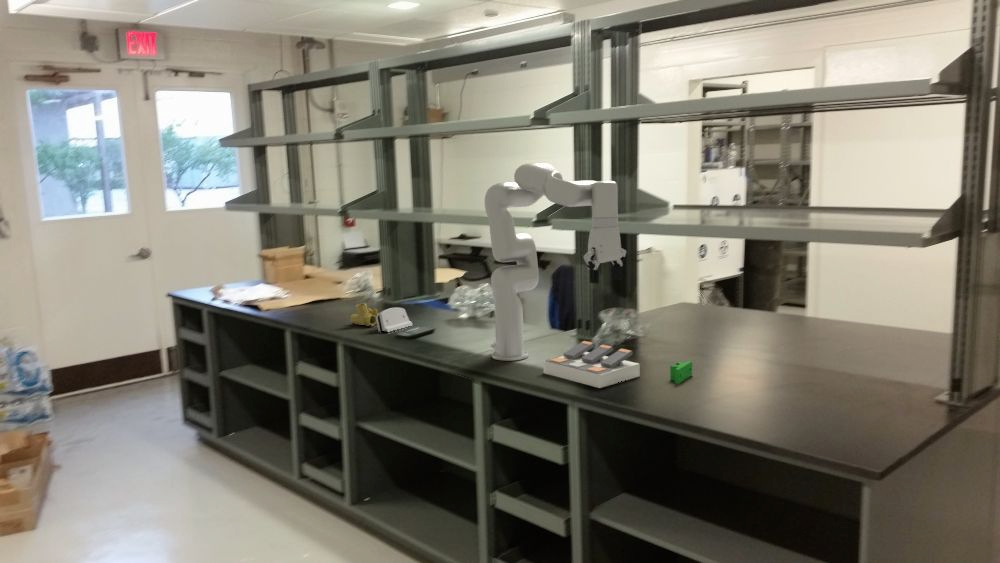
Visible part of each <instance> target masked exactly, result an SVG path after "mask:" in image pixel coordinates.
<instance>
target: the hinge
mask: <svg viewBox="0 0 1000 563" xmlns="http://www.w3.org/2000/svg"><path fill="white" fill-rule="evenodd" d="M376 322H377V323H376V326H377V330H378V332H379V331H384V332H386V333H387V332H390V331H393V330H397V329H401V328H405V327H408V326H412V325H413V321H410V318H409V316H408V313H407V311H406V309H405V308H403V307H398V306H397V307H390V308H387V309H384V310H382V311H380V312H378V315H377V316H376ZM413 326H414V325H413ZM413 326H412V327H413ZM405 329H406V328H405Z"/></svg>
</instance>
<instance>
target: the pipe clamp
mask: <svg viewBox="0 0 1000 563" xmlns="http://www.w3.org/2000/svg"><path fill="white" fill-rule="evenodd" d="M669 366H670V368H669V369H670V372H669V373H670V378H669V379H670V380H671V381H674V384H676V385H679V384H680V383H682V382H683V381H685V380H687V379H688V378H689V377H691V376H693V361H691V360H688V361H686V362H679V361H677V362H675V365H669Z"/></svg>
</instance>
